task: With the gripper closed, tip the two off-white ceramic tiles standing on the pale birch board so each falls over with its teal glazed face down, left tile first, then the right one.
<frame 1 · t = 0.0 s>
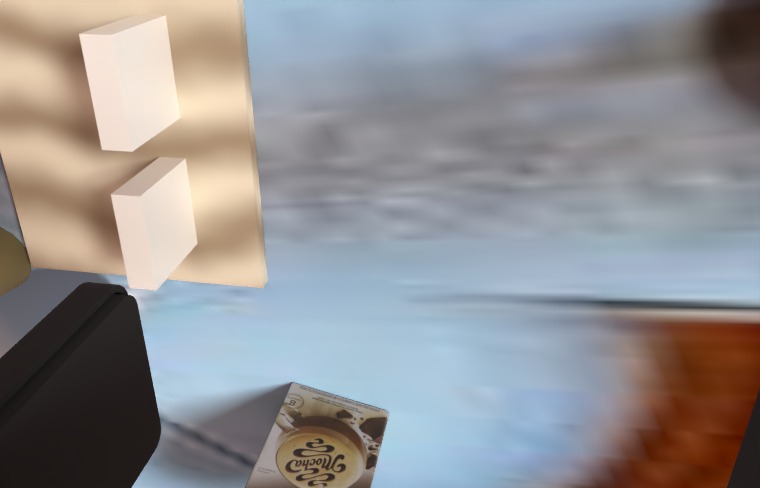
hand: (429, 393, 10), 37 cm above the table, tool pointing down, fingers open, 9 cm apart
coffee box: (334, 418, 60), on the table
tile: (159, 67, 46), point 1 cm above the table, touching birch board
birch board: (126, 129, 50), on the table
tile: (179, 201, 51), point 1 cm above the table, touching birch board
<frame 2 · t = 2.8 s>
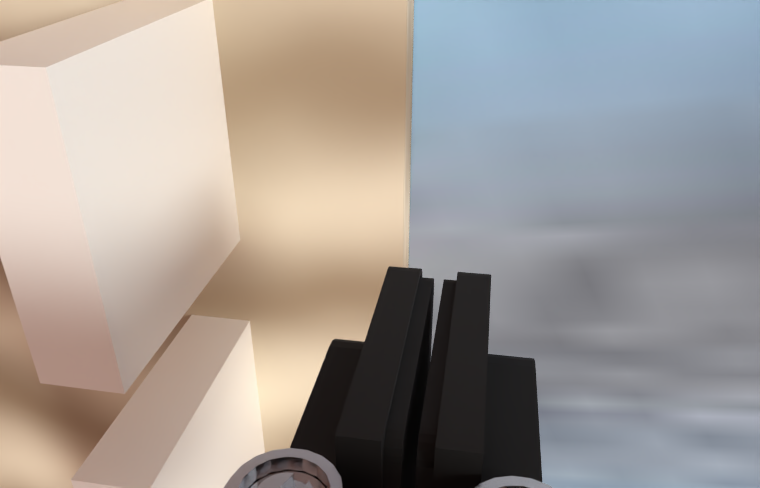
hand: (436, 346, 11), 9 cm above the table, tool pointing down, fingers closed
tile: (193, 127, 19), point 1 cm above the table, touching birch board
birch board: (117, 249, 23), on the table
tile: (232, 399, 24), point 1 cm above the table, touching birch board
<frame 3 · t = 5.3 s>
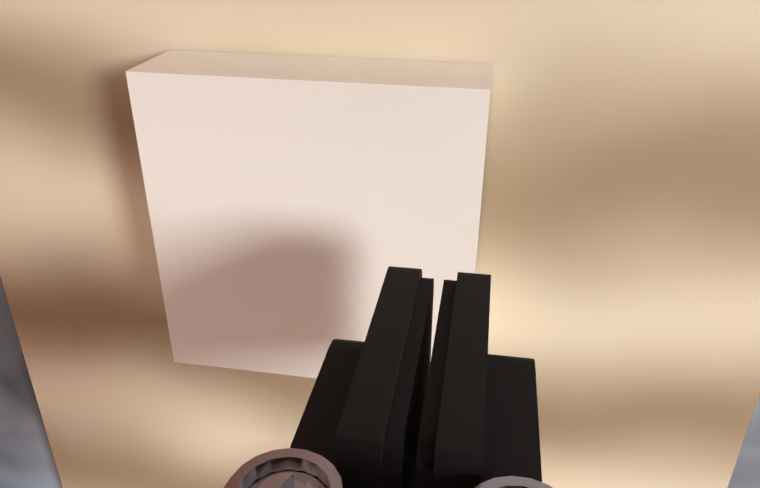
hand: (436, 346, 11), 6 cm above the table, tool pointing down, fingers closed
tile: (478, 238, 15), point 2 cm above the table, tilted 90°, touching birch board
birch board: (363, 350, 19), on the table
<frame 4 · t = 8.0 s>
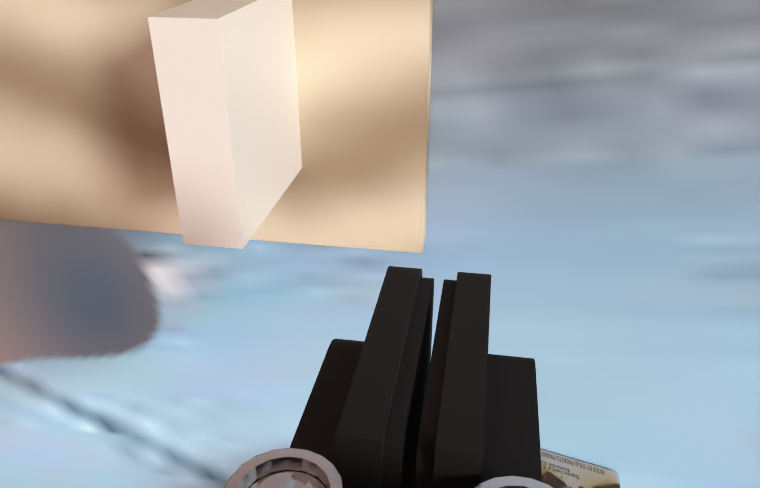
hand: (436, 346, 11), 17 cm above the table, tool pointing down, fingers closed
coffee box: (512, 481, 36), on the table
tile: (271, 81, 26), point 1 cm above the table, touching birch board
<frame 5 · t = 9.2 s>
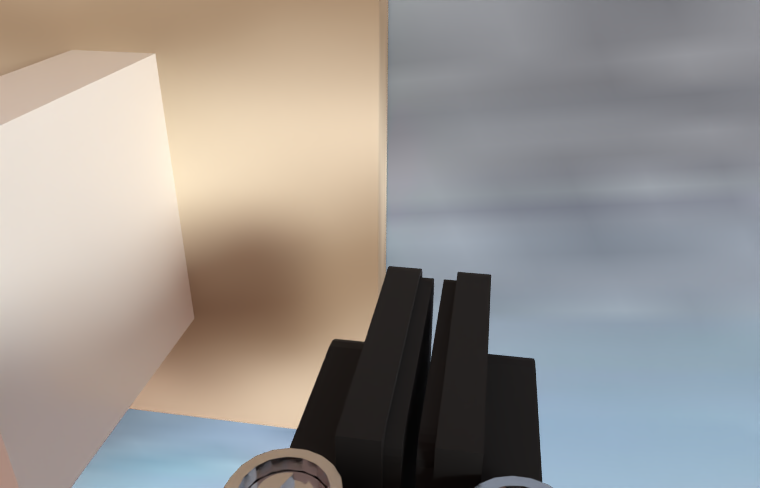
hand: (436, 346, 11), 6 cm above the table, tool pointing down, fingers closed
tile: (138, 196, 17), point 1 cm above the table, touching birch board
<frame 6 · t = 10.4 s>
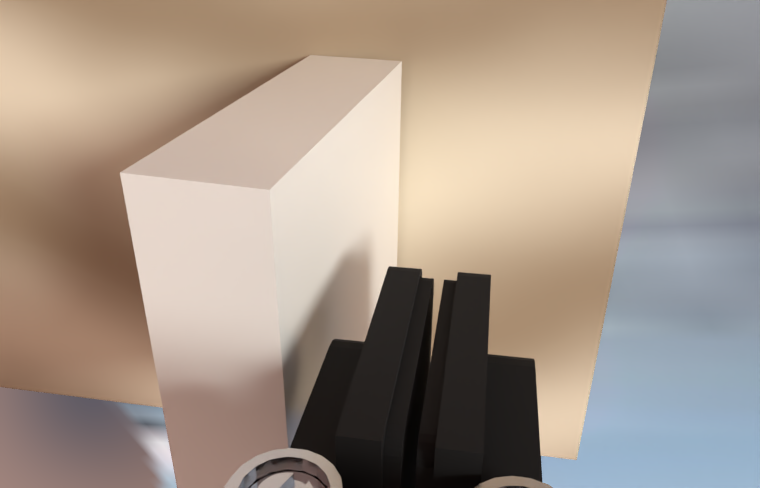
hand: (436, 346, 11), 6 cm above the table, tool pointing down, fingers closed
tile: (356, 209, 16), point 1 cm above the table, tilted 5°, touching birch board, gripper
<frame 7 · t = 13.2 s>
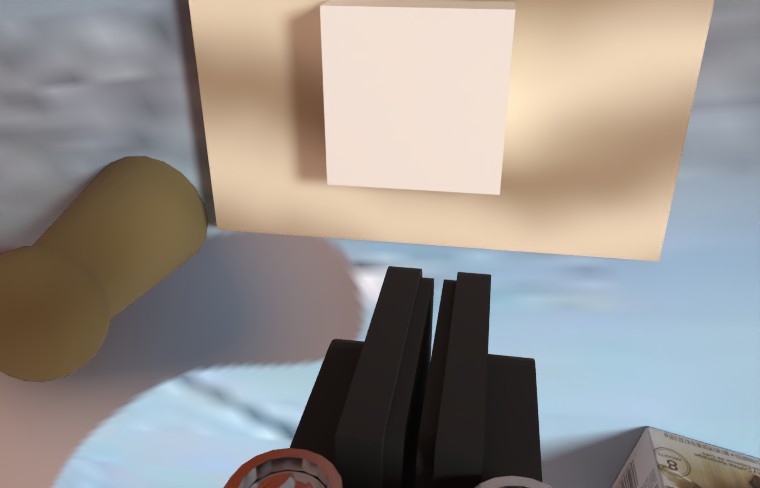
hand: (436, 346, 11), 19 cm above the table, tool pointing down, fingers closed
coffee box: (702, 485, 36), on the table
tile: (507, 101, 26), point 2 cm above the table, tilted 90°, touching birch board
cork: (151, 211, 34), on the table
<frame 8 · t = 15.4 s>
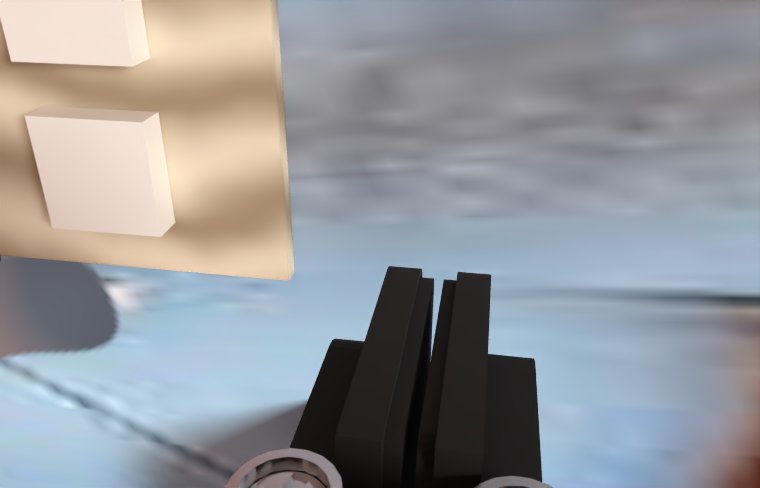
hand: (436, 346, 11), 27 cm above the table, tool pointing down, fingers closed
birch board: (116, 77, 39), on the table
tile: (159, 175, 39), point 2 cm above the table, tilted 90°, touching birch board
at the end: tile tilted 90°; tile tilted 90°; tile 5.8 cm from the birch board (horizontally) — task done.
